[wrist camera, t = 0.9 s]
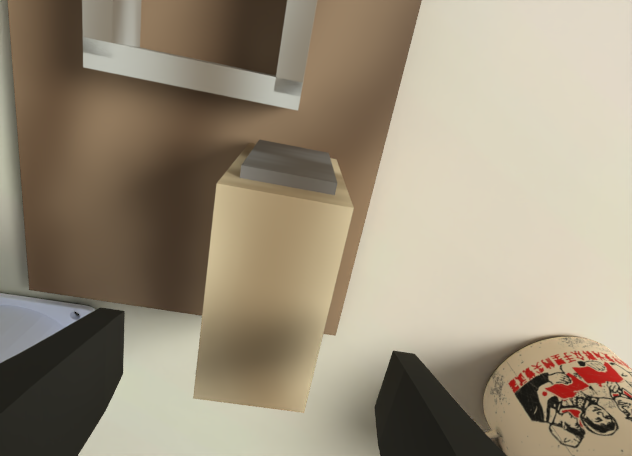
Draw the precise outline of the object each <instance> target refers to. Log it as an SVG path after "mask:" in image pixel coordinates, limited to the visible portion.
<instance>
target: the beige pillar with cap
mask: <svg viewBox="0 0 632 456" xmlns="http://www.w3.org/2000/svg"><path fill="white" fill-rule="evenodd" d="M353 209H354V207H353V205H352V202H351V199H350V196H349V193H348V191H347V188H346V185H345V182H344V179H343V176H342V174H341V171H340V168H339V165H338V162H337V159H332V158H330V155H329V153H327V152H322V151H317V150H311V149H306V148H301V147H296V146H291V145H285V144H280V143H275V142H270V141H265V140H260V139H259V141H258V142H257V143H256V144H254V143H249V144H248V145H247V146H246V148H245V149H244V150H243V151H242V152H241V154H240V155H239V156H238V157H237V159H236V160H235V161H234V162H233V164H232V165H231V166H230V167H229V169H228V170H227V171H226V172H225V174H224V175H223V176H222V177H221V179H220V180H219V181H218V182H217V184H216V193H215V203H214V212H213V221H212V230H211V240H210V249H209V258H208V267H207V276H206V286H205V295H204V304H203V313H202V323H201V332H200V341H199V350H198V359H197V369H196V378H195V387H194V396H193V398H194V399H202V400H210V401H217V402H225V403H233V404H241V405H248V406H256V407H264V408H271V409H279V410H287V411H295V412H302V413H304V411H305V407H306V403H307V398H308V394H309V390H310V386H311V382H312V378H313V374H314V370H315V365H316V361H317V357H318V353H319V349H320V345H321V341H322V337H323V333H324V328H325V324H326V320H327V316H328V312H329V308H330V304H331V300H332V296H333V291H334V287H335V283H336V279H337V275H338V271H339V267H340V263H341V259H342V254H343V250H344V246H345V242H346V238H347V234H348V230H349V226H350V222H351V217H352V213H353Z"/></svg>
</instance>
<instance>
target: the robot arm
mask: <svg viewBox="0 0 632 456" xmlns="http://www.w3.org/2000/svg"><path fill="white" fill-rule="evenodd" d="M74 312H77V313H78V314H79V315H80V316H78V315H76V314H75V313H74ZM123 351H124V311H120V310H113V309H106V308H99V309H97V310H95V309H94V308H92V307H90V306H86V305H79V304H72V303H65V302H59V301H52V300H45V299H38V298H31V297H25V296H18V295H11V294H4V293H0V456H78V454H79V452H80V451H81V449H82V448H83V446H84V445H85V443H86V441H87V440H88V438H89V437H90V435H91V433H92V432H93V430H94V429H95V427H96V425H97V424H98V422H99V420H100V419H101V417H102V416H103V414H104V412H105V411H106V408H107V406H108V404H109V402H110V400H111V398H112V396H113V394H114V392H115V390H116V388H117V385H118V383H119V381H120V379H121V377H122V375H123ZM375 417H376V428H377V437H378V446H379V450H380V455H381V456H507V455H506V454H505V453H504V452H503V451H502V450H501V449H500V448H499V447H498V446H497V445H496V444H495V443H494V442H493V441H492V440H491V439H490V438H489V437H488V436H487V435H486V434H485V433H484V432H483V431H482V430H481V429H480V428H479V426H478V425H477V424H476V423H475V422H474V421H473V420H472V419H471V418H470V417H469V416H468V415H467V413H466V412H465V411H464V410H463V409H462V408H461V407H460V406H459V405H458V403H457V402H456V401H455V400H454V399H453V398H452V397H451V395H450V394H449V393H448V392H447V391H446V390H445V388H444V387H443V386H442V385H441V384H440V383H439V381H438V380H437V379H436V378H435V377H434V376H433V374H432V373H431V372H430V371H429V370H428V369H427V367H426V366H425V365H424V364H423V363H422V362H421V361H420V359H419V358H418V357H417V356H416V355H415V354H412V353H405V352H398V351H393V353H392V356H391V359H390V362H389V365H388V368H387V371H386V374H385V377H384V380H383V383H382V386H381V389H380V392H379V396H378V399H377V402H376V405H375Z"/></svg>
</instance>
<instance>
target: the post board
mask: <svg viewBox="0 0 632 456" xmlns="http://www.w3.org/2000/svg"><path fill="white" fill-rule="evenodd" d="M421 1H422V0H8V13H9V26H10V39H11V53H12V66H13V79H14V93H15V106H16V119H17V132H18V146H19V159H20V172H21V186H22V199H23V212H24V225H25V239H26V252H27V265H28V278H29V290H34V291H40V292H47V293H54V294H60V295H67V296H74V297H81V298H87V299H94V300H101V301H107V302H114V303H121V304H127V305H134V306H141V307H148V308H154V309H161V310H168V311H174V312H181V313H188V314H195V315H201V316H202V313H203V304H204V295H205V286H206V276H207V267H208V258H209V249H210V240H211V230H212V221H213V212H214V203H215V193H216V184H217V182H218V181H219V180H220V179H221V177H222V176H223V175H224V174H225V172H226V171H227V170H228V169H229V167H230V166H231V165H232V164H233V162H234V161H235V160H236V159H237V157H238V156H239V155H240V154H241V152H242V151H243V150H244V149H245V148H246V146H247V145H248V144H249V143H254V144H256V143H257V142H258V141H259V139H260V140H265V141H270V142H275V143H280V144H285V145H291V146H296V147H301V148H306V149H311V150H317V151H322V152H327V153H329V155H330V158H332V159H337V162H338V165H339V168H340V171H341V174H342V176H343V179H344V182H345V185H346V188H347V191H348V193H349V196H350V199H351V202H352V205H353V207H354V209H353V213H352V217H351V222H350V226H349V230H348V234H347V238H346V242H345V246H344V250H343V254H342V259H341V263H340V267H339V271H338V275H337V279H336V283H335V287H334V291H333V296H332V300H331V304H330V308H329V312H328V316H327V320H326V324H325V328H324V333H323V334H329V335H336V332H337V328H338V324H339V320H340V316H341V312H342V308H343V304H344V300H345V297H346V293H347V289H348V285H349V281H350V277H351V273H352V269H353V265H354V261H355V258H356V254H357V250H358V246H359V242H360V238H361V234H362V230H363V226H364V223H365V219H366V215H367V211H368V207H369V203H370V199H371V195H372V191H373V188H374V184H375V180H376V176H377V172H378V168H379V164H380V160H381V156H382V153H383V149H384V145H385V141H386V137H387V133H388V129H389V125H390V121H391V118H392V114H393V110H394V106H395V102H396V98H397V94H398V90H399V86H400V83H401V79H402V75H403V71H404V67H405V63H406V59H407V55H408V51H409V48H410V44H411V40H412V36H413V32H414V28H415V24H416V20H417V16H418V13H419V9H420V5H421Z"/></svg>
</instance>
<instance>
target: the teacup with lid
mask: <svg viewBox="0 0 632 456" xmlns="http://www.w3.org/2000/svg"><path fill="white" fill-rule="evenodd" d="M483 409H484V414H485V417H486V420H487V422H488V424H489V426H490V428H491V430H492V431H488V432H485V434H486V435H487V436H488V437H489V438H490V439H491V440H492V441H493V442H494V443H495V444H496V445H497V446H498V447H499V448H500V449H501V450H502V451H503V452H504V453H505V454H506V455H507V456H632V369H631V368H630V367H629V366H628V365H627V364H625V363H624V362H623V361H622V360H621V359H620V358H619V357H618V356H617V355H616V354H614V353H613V352H612V351H611V350H610V349H608V348H607V347H605V346H604V345H602V344H600V343H598V342H595V341H593V340H589V339H586V338H580V337H556V338H550V339H545V340H542V341H538V342H536V343H533V344H530V345H528V346H526V347H524V348H522V349H520V350H519V351H517V352H515V353H514V354H513V355H511V356H510V357H509V358H507V359H506V360H505V361H504V362H503V363H502V364H501V365H500V366H499V367H498V368H497V369H496V371H495V372H494V373H493V375H492V376H491V378H490V380H489V382H488V384H487V386H486V389H485V393H484V398H483Z"/></svg>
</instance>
